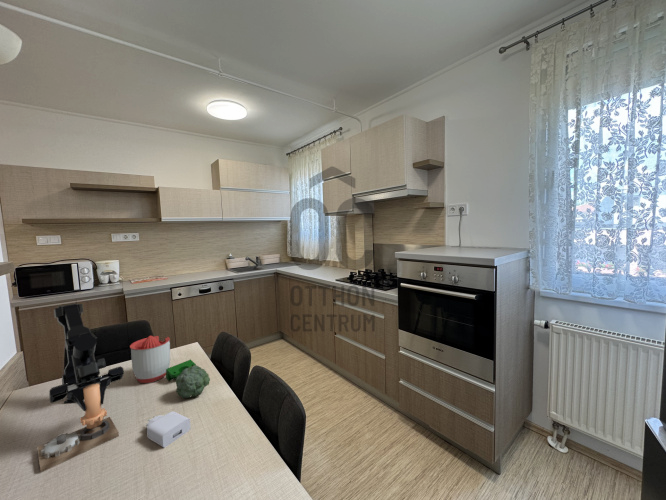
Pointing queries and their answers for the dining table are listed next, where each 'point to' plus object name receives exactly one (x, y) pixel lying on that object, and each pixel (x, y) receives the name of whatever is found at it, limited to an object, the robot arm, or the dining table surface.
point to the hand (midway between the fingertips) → (93, 407)
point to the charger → (167, 428)
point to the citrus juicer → (150, 358)
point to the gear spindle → (92, 407)
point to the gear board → (75, 444)
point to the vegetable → (191, 381)
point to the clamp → (178, 369)
